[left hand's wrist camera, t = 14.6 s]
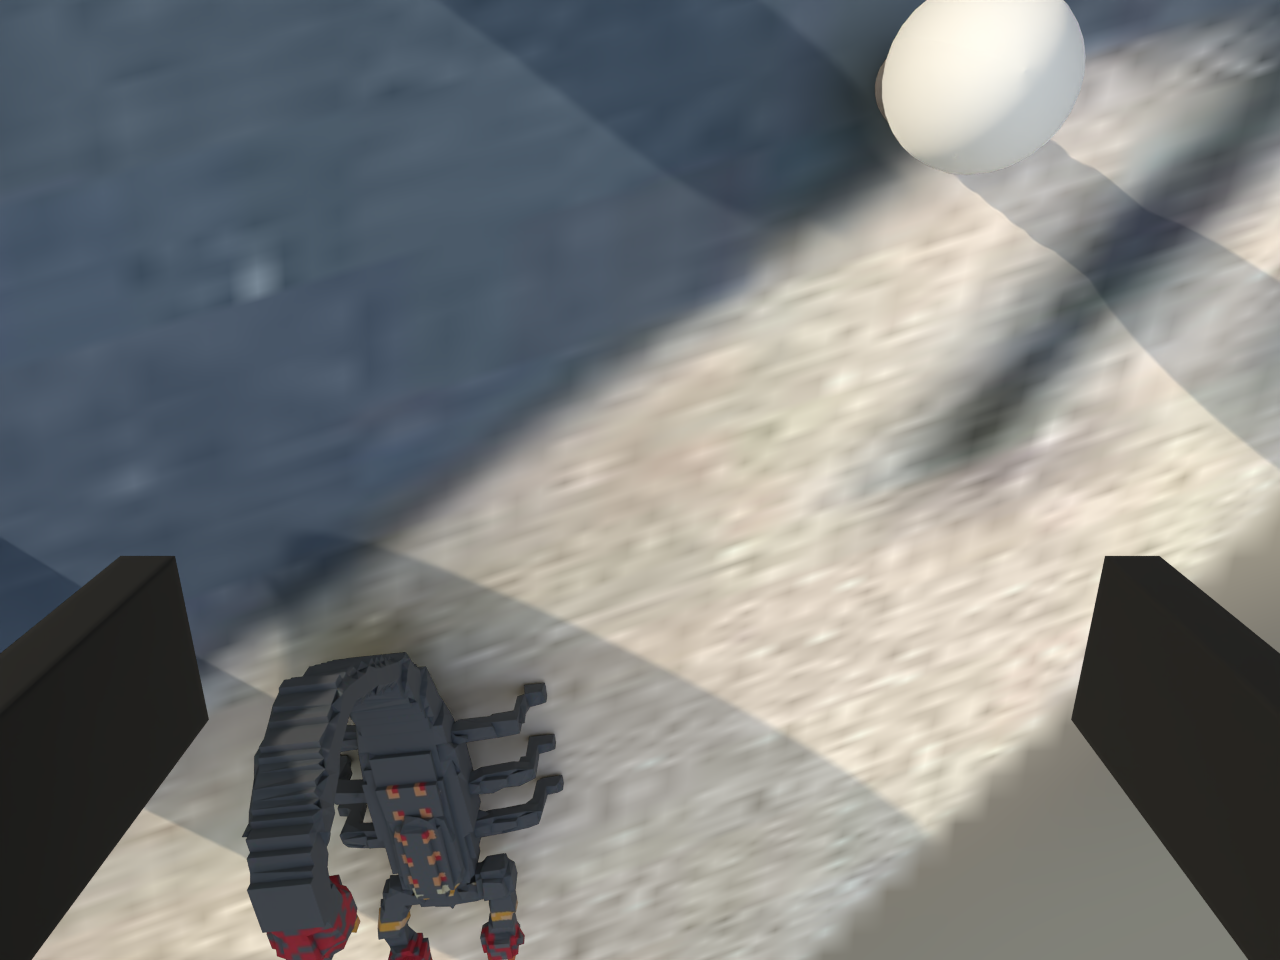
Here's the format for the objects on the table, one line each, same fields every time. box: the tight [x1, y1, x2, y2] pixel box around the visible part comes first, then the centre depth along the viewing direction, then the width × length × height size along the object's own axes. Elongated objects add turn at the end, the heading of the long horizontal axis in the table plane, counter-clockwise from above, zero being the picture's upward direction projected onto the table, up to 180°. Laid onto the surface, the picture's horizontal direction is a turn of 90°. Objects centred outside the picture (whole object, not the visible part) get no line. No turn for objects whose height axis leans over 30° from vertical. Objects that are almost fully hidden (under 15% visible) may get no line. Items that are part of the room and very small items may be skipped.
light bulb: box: [875, 0, 1085, 175], centre depth 34 cm, size 7×7×11 cm
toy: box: [242, 652, 564, 960], centre depth 44 cm, size 13×27×18 cm, turn 7°
